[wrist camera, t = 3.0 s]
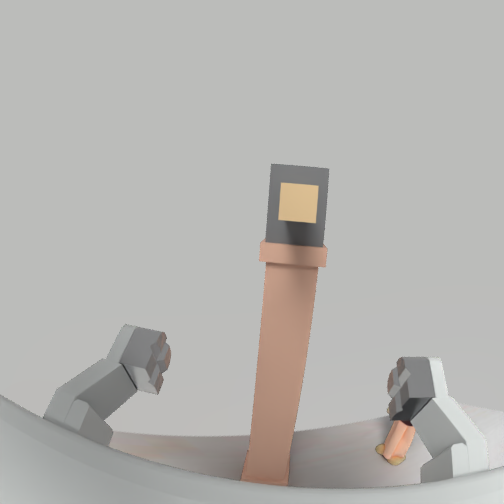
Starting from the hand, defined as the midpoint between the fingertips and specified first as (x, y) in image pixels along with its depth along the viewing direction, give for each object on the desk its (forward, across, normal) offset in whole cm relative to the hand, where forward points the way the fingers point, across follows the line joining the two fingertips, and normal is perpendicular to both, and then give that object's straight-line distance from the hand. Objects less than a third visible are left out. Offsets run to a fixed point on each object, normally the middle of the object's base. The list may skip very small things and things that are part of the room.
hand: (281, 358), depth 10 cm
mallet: (+12, 0, +4) cm, 13 cm away
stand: (+2, 0, +29) cm, 29 cm away
